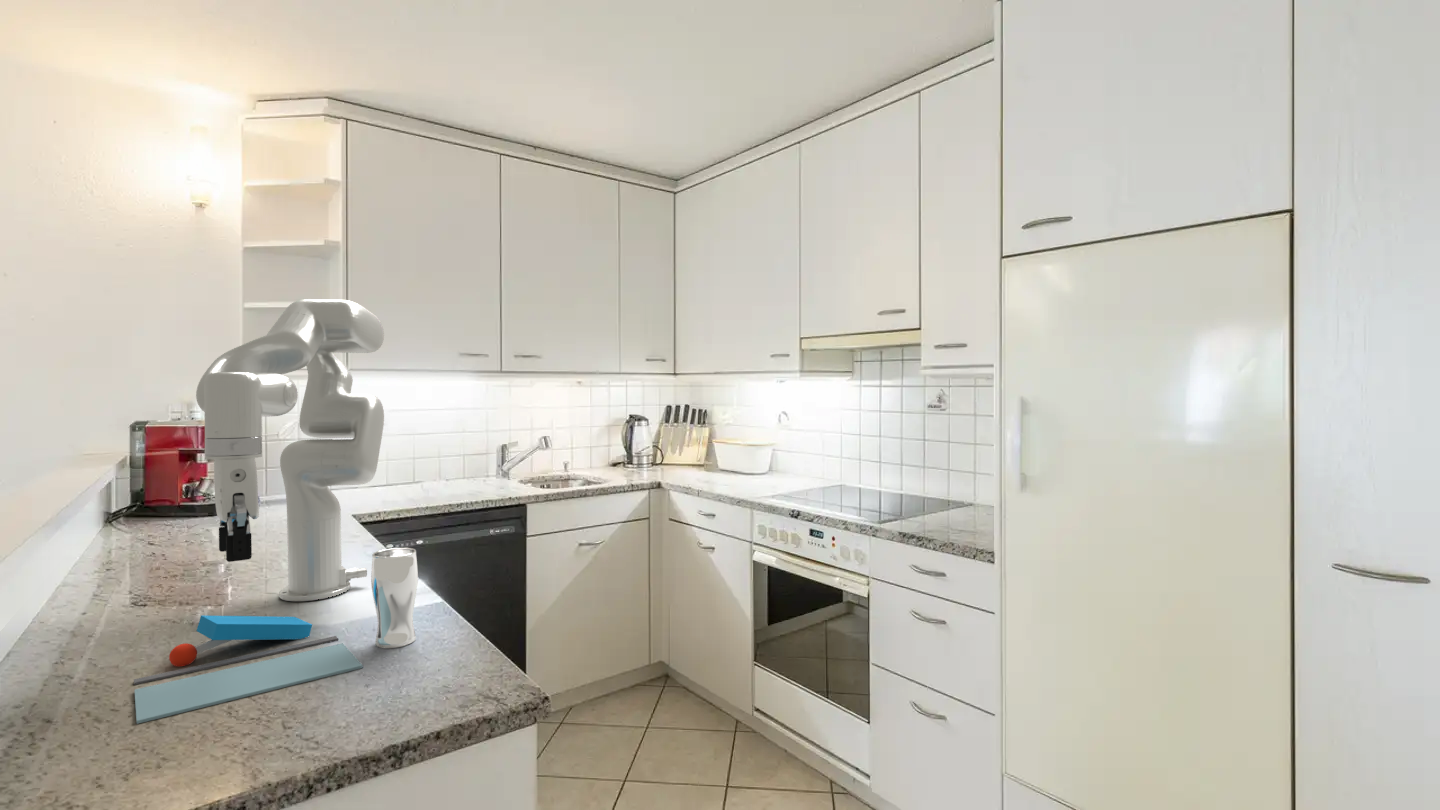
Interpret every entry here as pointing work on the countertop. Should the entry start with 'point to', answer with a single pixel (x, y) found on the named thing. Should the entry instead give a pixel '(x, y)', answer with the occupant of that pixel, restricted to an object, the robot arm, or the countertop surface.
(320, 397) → the robot arm
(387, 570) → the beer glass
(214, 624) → the lever
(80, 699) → the countertop surface
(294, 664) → the mat
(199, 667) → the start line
